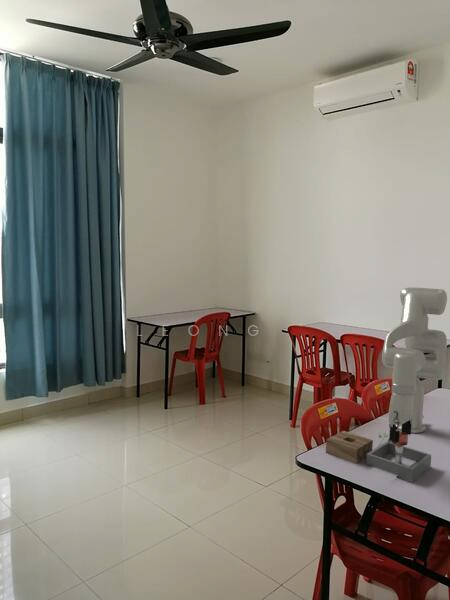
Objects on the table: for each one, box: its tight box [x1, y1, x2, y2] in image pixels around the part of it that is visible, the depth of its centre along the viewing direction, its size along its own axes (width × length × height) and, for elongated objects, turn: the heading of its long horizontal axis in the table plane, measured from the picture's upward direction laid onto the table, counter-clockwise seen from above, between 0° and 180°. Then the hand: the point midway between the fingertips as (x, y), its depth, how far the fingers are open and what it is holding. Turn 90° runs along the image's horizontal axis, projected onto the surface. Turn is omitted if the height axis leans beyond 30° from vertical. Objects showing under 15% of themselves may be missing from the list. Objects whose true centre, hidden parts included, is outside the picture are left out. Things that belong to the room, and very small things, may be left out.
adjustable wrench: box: [376, 430, 391, 448], centre depth 186 cm, size 25×6×2 cm, turn 147°
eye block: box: [325, 430, 374, 464], centre depth 174 cm, size 12×12×6 cm
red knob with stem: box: [391, 430, 409, 465], centre depth 166 cm, size 5×5×11 cm
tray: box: [365, 441, 432, 484], centre depth 166 cm, size 16×16×4 cm
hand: (400, 437), depth 165 cm, fingers open, 9 cm apart
